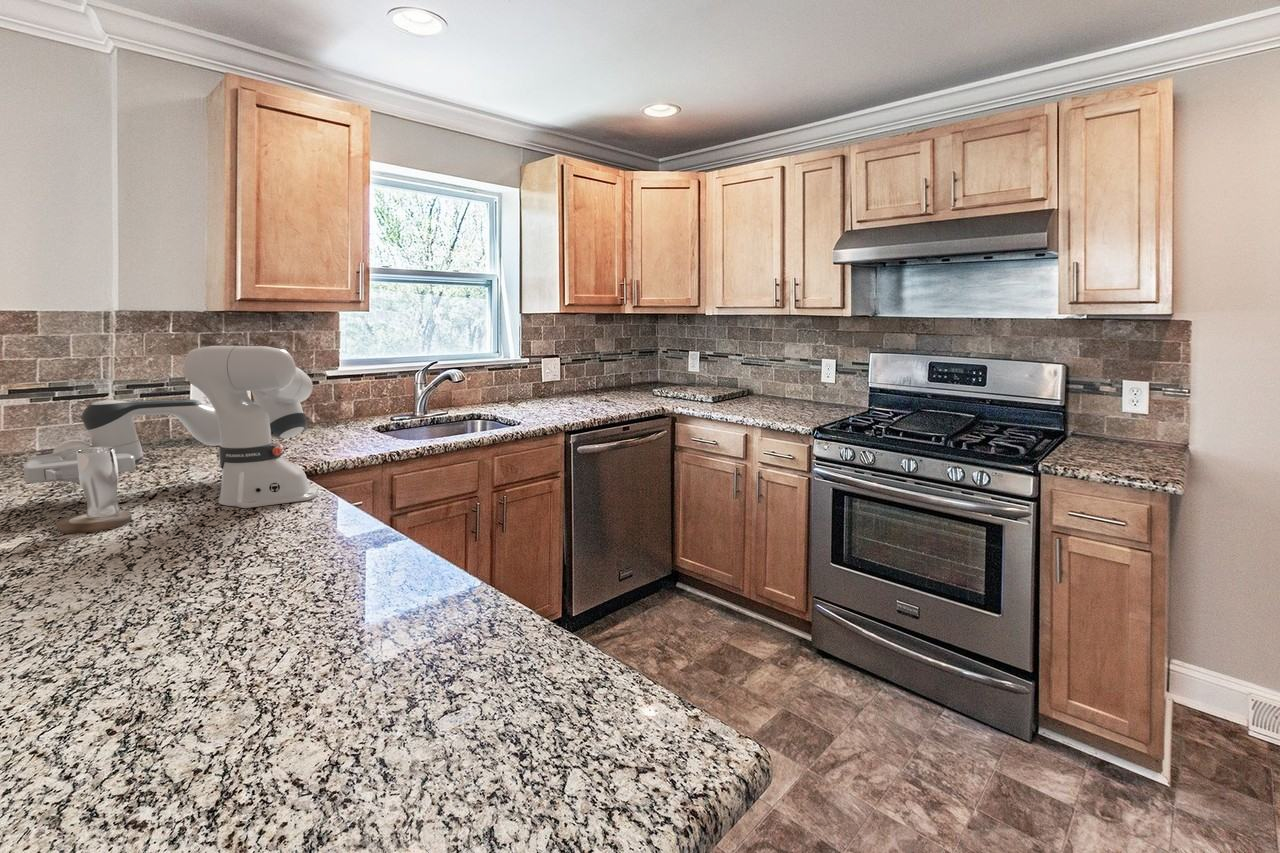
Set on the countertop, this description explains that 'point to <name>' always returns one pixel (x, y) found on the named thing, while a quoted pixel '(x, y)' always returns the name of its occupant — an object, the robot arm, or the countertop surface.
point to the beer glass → (99, 481)
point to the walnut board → (91, 523)
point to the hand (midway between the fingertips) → (84, 473)
